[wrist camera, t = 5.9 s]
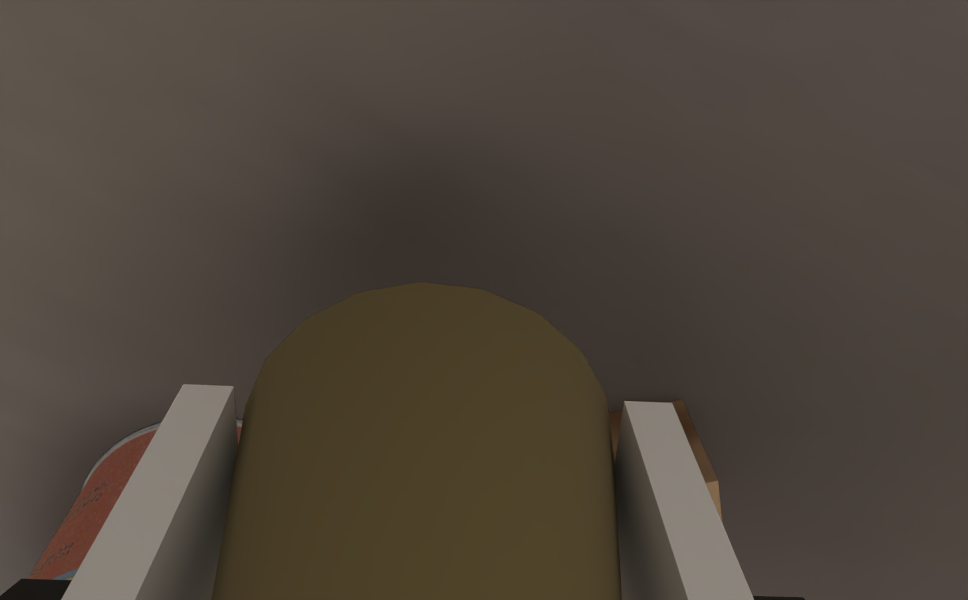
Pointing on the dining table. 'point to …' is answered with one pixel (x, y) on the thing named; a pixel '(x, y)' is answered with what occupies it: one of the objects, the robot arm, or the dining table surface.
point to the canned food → (94, 506)
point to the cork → (423, 458)
